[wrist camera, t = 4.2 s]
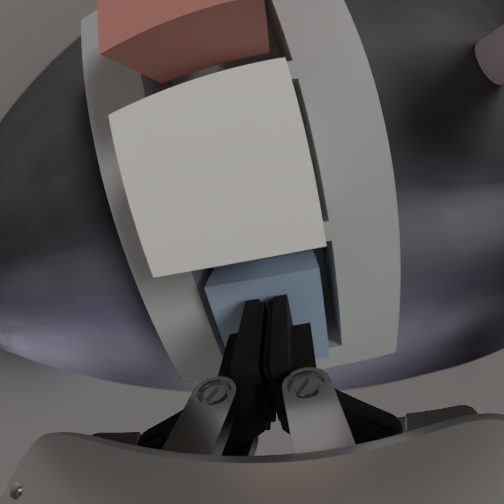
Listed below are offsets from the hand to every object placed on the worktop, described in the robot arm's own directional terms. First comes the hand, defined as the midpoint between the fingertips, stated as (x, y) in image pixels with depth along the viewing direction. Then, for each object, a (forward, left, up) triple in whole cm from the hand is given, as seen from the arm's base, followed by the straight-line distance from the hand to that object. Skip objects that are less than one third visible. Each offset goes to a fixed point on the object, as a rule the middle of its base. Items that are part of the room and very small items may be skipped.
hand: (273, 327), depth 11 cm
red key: (0, -13, -1) cm, 13 cm away
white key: (0, -6, -1) cm, 7 cm away
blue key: (0, 0, -5) cm, 5 cm away
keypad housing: (0, -6, -6) cm, 9 cm away
